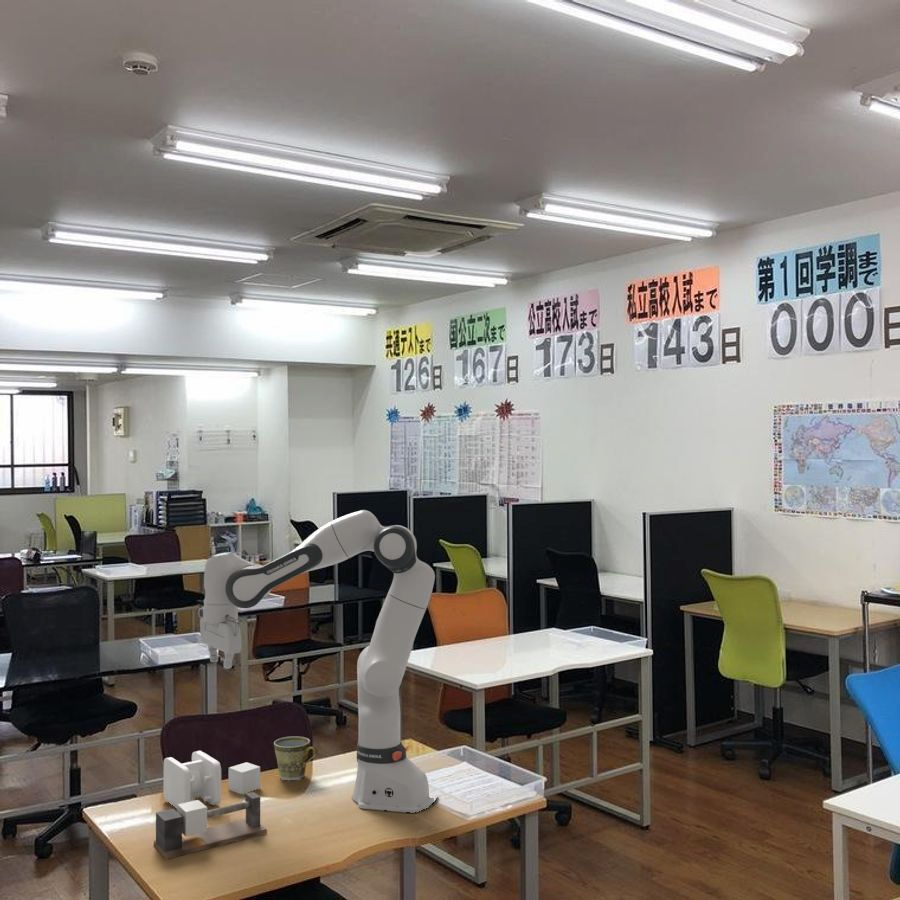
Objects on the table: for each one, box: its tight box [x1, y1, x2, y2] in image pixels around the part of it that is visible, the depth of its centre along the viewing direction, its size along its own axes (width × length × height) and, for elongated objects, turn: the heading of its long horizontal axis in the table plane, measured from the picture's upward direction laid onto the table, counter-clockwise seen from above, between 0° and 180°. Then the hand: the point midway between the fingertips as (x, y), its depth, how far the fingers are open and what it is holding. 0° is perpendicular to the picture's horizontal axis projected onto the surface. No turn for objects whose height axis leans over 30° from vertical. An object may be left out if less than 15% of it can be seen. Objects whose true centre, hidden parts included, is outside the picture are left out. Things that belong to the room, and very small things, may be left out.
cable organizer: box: [163, 750, 222, 809], centre depth 238 cm, size 15×11×12 cm
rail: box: [153, 791, 268, 859], centre depth 215 cm, size 24×9×8 cm, turn 126°
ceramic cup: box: [273, 736, 318, 781], centre depth 256 cm, size 13×10×10 cm
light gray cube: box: [228, 761, 261, 795], centre depth 248 cm, size 6×6×6 cm
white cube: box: [176, 799, 208, 837], centre depth 212 cm, size 5×6×6 cm
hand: (220, 665), depth 245 cm, fingers open, 8 cm apart
